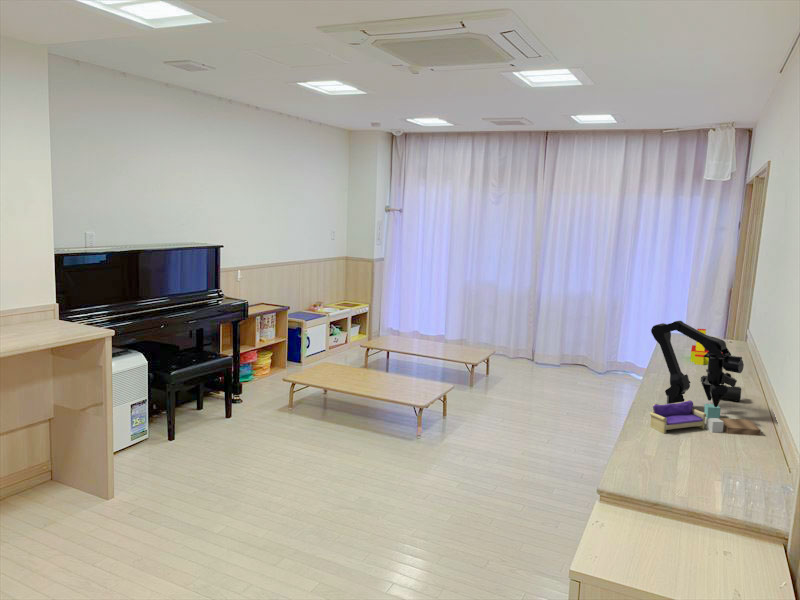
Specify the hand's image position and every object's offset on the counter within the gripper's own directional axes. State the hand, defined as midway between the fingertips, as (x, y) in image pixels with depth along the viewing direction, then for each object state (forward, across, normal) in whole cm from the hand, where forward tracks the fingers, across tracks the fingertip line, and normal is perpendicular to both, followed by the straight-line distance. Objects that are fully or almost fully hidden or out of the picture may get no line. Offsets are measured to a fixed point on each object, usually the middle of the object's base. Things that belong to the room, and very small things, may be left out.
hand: (712, 403), depth 265 cm
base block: (+6, -15, -6) cm, 17 cm away
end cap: (+6, +28, -15) cm, 32 cm away
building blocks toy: (+6, +110, -28) cm, 114 cm away
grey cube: (+6, -18, +4) cm, 19 cm away
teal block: (+6, 0, 0) cm, 6 cm away
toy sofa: (+6, -18, +18) cm, 26 cm away
